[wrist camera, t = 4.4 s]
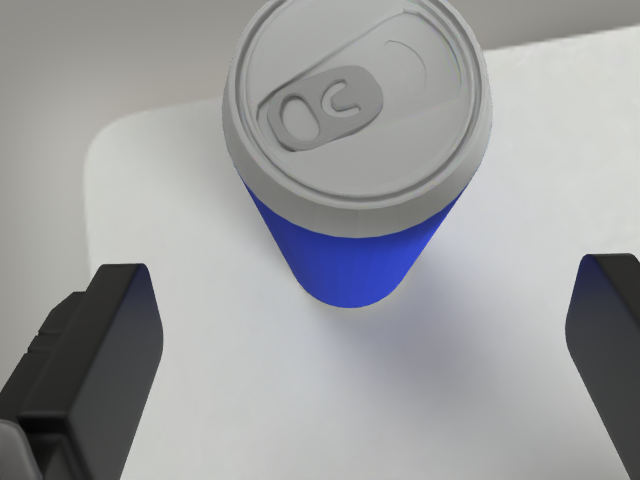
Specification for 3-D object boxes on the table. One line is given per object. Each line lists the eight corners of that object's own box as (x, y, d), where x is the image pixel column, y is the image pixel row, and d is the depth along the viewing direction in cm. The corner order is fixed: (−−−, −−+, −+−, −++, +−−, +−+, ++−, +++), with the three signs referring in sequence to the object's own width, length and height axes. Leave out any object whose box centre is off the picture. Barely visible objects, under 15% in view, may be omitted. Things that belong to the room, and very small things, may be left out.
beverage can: (374, 170, 26) (416, -91, 11) (432, 275, 25) (563, 141, 10) (268, 222, 25) (164, 26, 11) (321, 331, 24) (288, 279, 10)
